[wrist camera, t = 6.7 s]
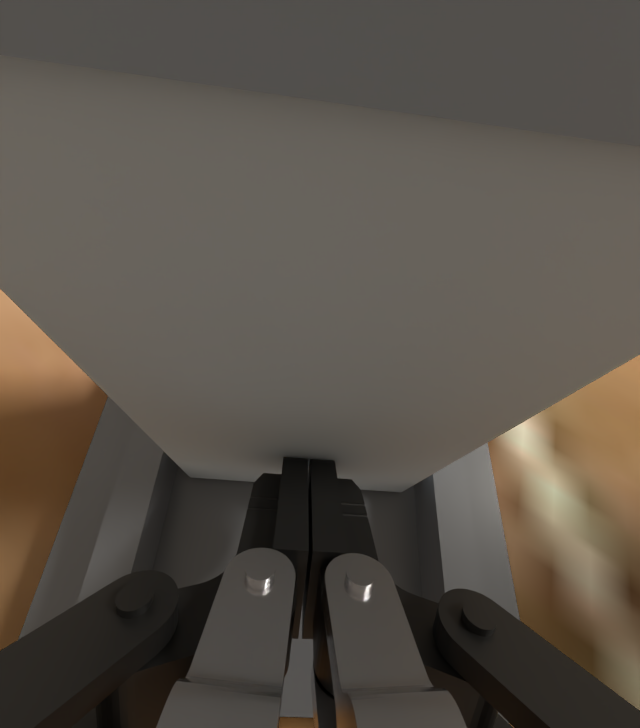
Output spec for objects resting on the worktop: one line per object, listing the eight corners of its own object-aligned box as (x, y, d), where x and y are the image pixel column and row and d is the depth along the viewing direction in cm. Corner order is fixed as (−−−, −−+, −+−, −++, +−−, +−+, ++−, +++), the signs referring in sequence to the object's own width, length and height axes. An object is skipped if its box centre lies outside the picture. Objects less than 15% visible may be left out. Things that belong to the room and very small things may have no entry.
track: (446, 299, 21) (485, 239, 17) (511, 707, 12) (619, 773, 8) (170, 269, 20) (144, 198, 16) (25, 691, 11) (-108, 759, 7)
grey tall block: (398, 373, 16) (764, -202, 4) (406, 498, 14) (1523, -71, 1) (212, 356, 16) (-15, -370, 4) (183, 482, 13) (-1151, -673, 1)
